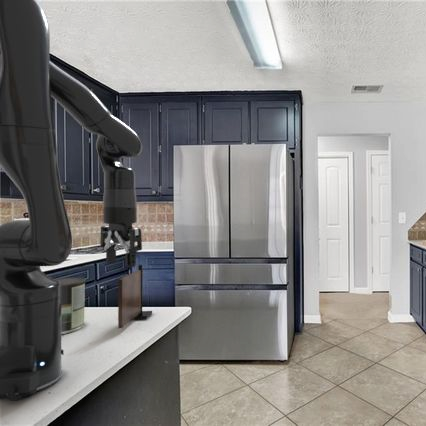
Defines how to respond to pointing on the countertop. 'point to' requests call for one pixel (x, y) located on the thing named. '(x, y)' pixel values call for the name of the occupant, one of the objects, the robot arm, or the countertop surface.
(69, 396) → the countertop surface
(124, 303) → the door
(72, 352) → the countertop surface
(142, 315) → the hinge post
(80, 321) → the coffee can
